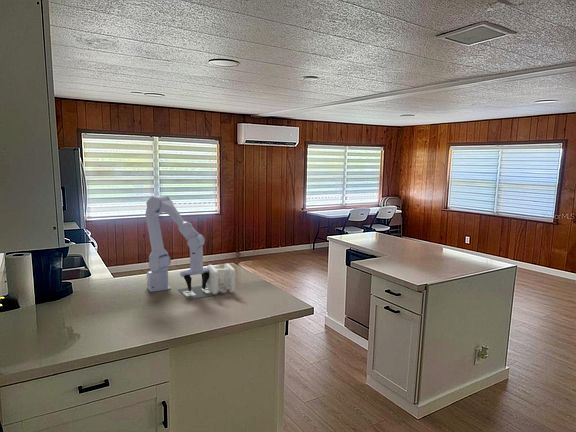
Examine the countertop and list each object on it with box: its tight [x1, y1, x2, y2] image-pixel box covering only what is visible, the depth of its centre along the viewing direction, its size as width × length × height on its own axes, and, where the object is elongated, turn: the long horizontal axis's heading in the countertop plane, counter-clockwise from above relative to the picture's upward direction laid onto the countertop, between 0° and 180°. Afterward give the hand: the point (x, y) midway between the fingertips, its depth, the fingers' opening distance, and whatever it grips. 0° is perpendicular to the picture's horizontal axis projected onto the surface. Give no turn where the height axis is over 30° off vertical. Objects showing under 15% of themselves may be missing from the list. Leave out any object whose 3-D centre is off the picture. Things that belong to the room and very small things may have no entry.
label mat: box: [177, 284, 225, 301], centre depth 184 cm, size 17×16×1 cm
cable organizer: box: [206, 263, 236, 294], centre depth 184 cm, size 15×11×12 cm
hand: (196, 289), depth 183 cm, fingers open, 6 cm apart
